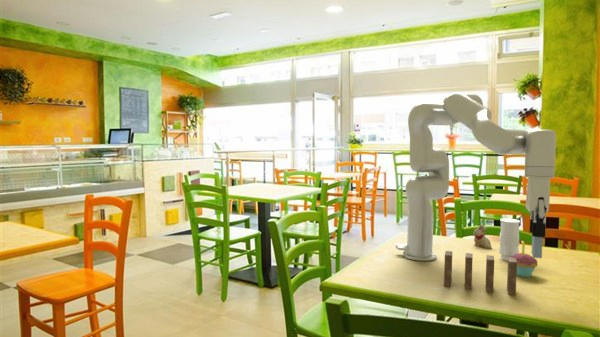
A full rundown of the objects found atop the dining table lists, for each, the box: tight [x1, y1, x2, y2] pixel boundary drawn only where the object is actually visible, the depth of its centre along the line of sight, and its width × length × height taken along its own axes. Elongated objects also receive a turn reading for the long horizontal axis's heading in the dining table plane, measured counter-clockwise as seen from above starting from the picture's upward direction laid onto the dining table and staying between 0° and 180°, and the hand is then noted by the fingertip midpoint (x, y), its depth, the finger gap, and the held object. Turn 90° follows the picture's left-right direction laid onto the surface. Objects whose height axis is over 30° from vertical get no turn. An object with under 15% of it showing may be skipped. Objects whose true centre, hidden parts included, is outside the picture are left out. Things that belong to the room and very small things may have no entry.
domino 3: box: [485, 254, 495, 294], centre depth 125 cm, size 2×5×10 cm, turn 157°
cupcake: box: [511, 240, 538, 278], centre depth 139 cm, size 9×8×12 cm
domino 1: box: [443, 250, 453, 288], centre depth 130 cm, size 2×5×10 cm, turn 157°
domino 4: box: [506, 257, 518, 297], centre depth 123 cm, size 2×5×10 cm, turn 157°
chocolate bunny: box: [472, 223, 492, 250], centre depth 176 cm, size 6×8×10 cm
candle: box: [498, 218, 521, 262], centre depth 158 cm, size 7×7×15 cm
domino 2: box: [464, 252, 474, 291], centre depth 128 cm, size 2×5×10 cm, turn 157°
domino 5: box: [531, 220, 544, 259], centre depth 120 cm, size 2×5×10 cm, turn 157°
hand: (537, 233), depth 120 cm, fingers closed on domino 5, 4 cm apart
